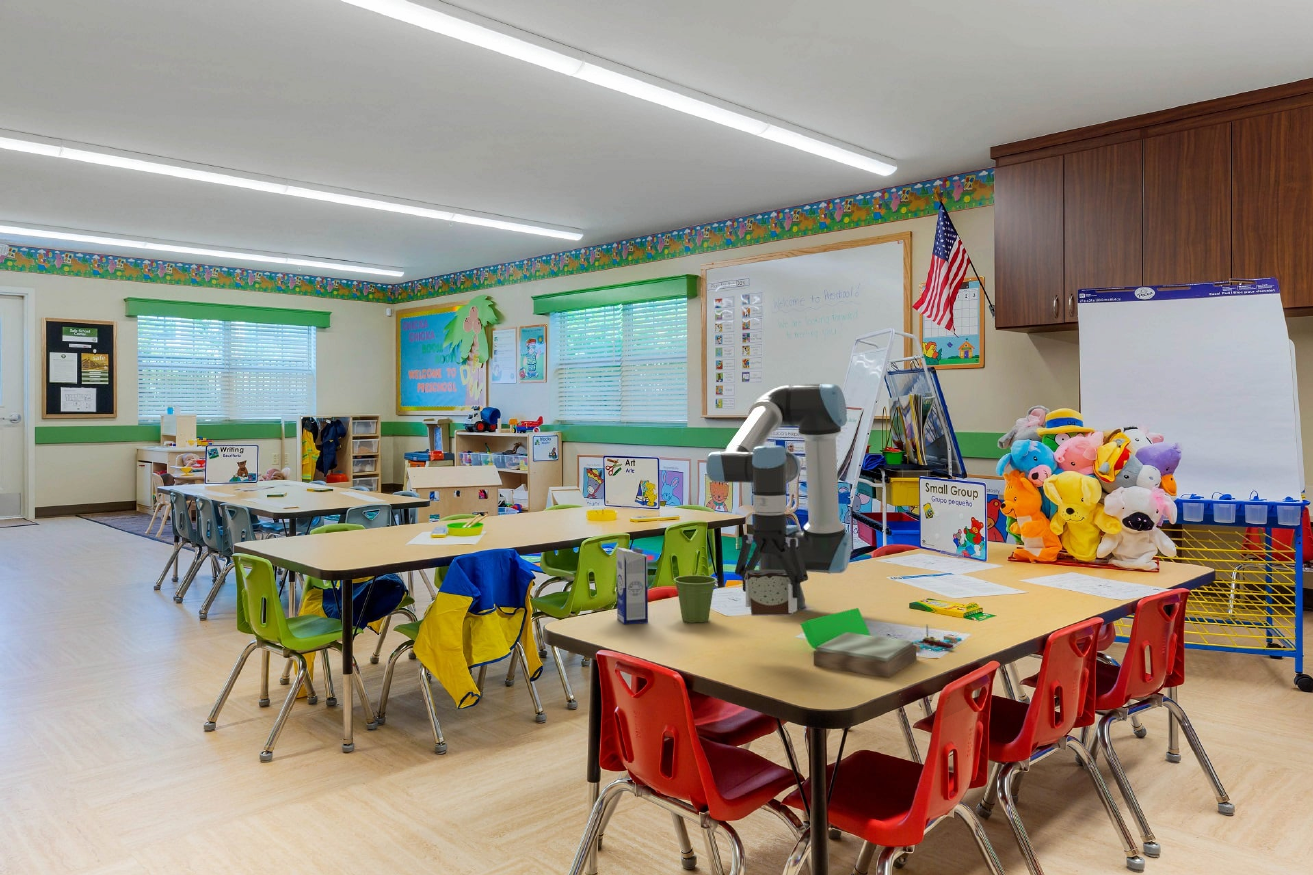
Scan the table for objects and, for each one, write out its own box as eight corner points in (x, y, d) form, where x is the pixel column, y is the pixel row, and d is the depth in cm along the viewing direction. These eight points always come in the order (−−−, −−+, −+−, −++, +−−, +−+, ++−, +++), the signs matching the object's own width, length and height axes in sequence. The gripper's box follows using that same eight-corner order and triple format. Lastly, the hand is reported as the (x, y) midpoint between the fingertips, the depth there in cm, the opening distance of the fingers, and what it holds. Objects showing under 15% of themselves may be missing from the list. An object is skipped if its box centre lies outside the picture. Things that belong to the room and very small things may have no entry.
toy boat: (978, 646, 205) (946, 638, 213) (978, 624, 205) (946, 617, 213) (921, 659, 195) (889, 650, 203) (921, 635, 195) (889, 627, 203)
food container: (795, 612, 201) (794, 569, 202) (799, 615, 195) (798, 570, 196) (742, 612, 201) (742, 569, 202) (744, 615, 195) (744, 571, 196)
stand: (813, 665, 189) (813, 647, 189) (845, 648, 203) (845, 631, 203) (888, 677, 179) (888, 658, 179) (916, 659, 193) (916, 641, 193)
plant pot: (669, 624, 229) (668, 582, 229) (679, 614, 241) (679, 574, 241) (712, 626, 226) (712, 583, 226) (721, 616, 238) (720, 576, 237)
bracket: (842, 648, 218) (831, 621, 221) (870, 635, 212) (858, 607, 215) (791, 663, 205) (779, 634, 208) (819, 649, 199) (807, 619, 202)
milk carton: (617, 618, 236) (616, 546, 236) (640, 616, 238) (639, 545, 238) (624, 624, 229) (623, 549, 229) (648, 622, 231) (647, 548, 231)
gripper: (718, 511, 201) (720, 605, 201) (808, 517, 187) (809, 618, 188) (735, 508, 207) (736, 599, 207) (822, 514, 193) (824, 611, 194)
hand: (771, 608), depth 198 cm, fingers closed on food container, 10 cm apart
